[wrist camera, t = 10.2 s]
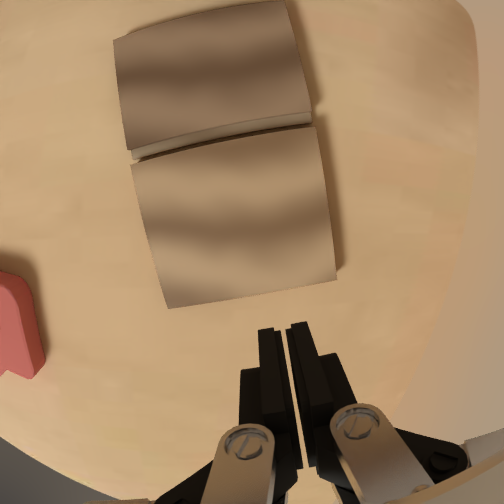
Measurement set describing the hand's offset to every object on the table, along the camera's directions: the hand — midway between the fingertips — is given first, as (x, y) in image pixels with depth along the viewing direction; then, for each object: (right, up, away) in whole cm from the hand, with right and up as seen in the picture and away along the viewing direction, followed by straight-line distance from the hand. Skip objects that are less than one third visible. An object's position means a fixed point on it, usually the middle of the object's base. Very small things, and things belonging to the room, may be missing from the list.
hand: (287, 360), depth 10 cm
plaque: (-34, -5, +17) cm, 38 cm away
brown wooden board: (-5, +18, +10) cm, 21 cm away
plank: (-2, +6, +13) cm, 15 cm away
